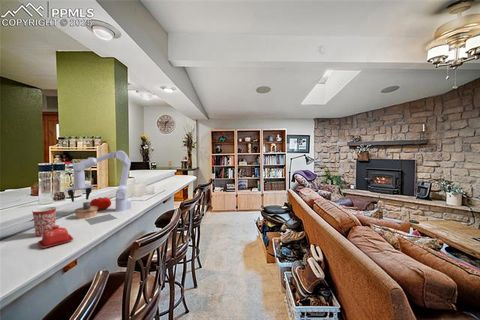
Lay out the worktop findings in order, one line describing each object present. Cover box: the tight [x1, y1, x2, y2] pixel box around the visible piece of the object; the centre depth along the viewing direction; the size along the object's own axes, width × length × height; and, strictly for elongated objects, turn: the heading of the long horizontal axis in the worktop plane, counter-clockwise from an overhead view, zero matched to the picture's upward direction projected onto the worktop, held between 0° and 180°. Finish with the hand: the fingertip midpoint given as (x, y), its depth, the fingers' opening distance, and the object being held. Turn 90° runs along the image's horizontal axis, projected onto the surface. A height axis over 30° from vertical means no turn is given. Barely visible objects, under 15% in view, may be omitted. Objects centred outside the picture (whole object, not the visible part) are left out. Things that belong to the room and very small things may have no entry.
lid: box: [74, 201, 99, 214], centre depth 132 cm, size 12×12×6 cm
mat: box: [83, 213, 118, 226], centre depth 127 cm, size 14×14×1 cm
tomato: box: [89, 196, 112, 211], centre depth 150 cm, size 14×13×9 cm
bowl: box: [75, 210, 98, 220], centre depth 133 cm, size 11×11×4 cm
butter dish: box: [38, 224, 74, 249], centre depth 96 cm, size 12×12×8 cm
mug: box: [32, 206, 57, 238], centre depth 107 cm, size 13×9×14 cm
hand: (80, 200), depth 135 cm, fingers open, 7 cm apart
